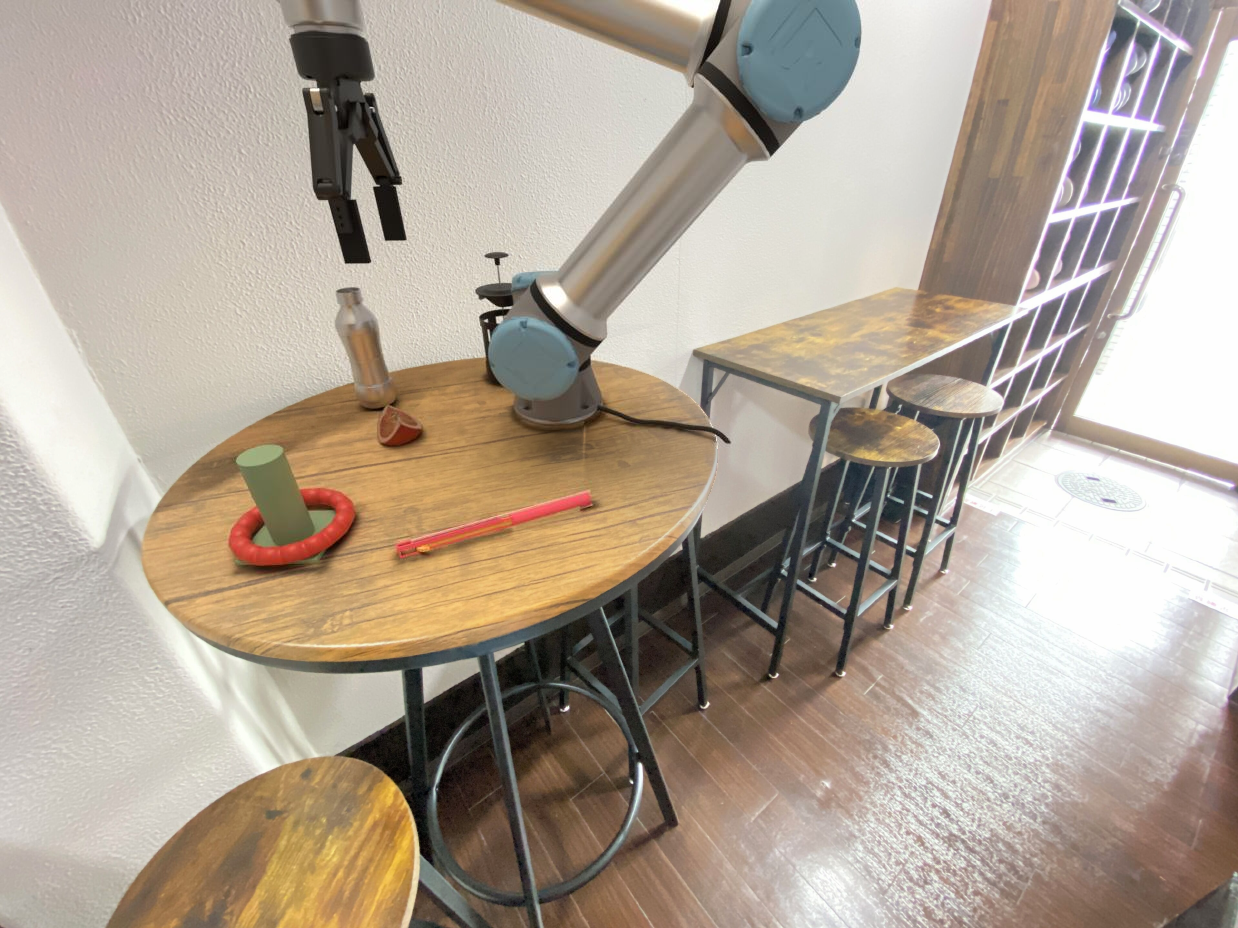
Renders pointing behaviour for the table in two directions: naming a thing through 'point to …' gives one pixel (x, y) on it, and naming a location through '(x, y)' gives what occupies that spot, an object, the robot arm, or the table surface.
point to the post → (279, 501)
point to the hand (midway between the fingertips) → (378, 251)
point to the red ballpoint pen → (494, 523)
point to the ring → (298, 550)
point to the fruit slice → (397, 427)
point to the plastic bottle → (363, 349)
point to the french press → (500, 298)
